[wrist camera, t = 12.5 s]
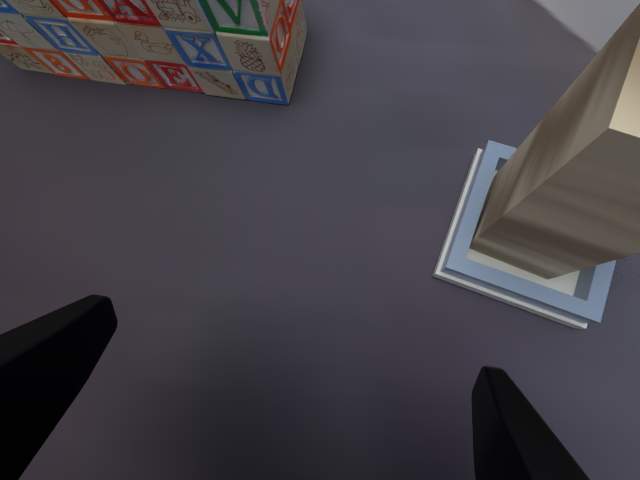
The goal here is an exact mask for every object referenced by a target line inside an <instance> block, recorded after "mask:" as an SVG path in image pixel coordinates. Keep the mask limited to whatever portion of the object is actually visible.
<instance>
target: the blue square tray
mask: <svg viewBox="0 0 640 480" xmlns="http://www.w3.org/2000/svg"><path fill="white" fill-rule="evenodd" d="M516 150H517V148H514V147H511V146H507V145H504V144H500V143H497V142H494V141H490V140H489V141H488V142H487V144H486V145H485V147H484V148H483V150H482V149H479V148H478V150H477V151H476V153H475V155H474V156H473V159H472V162H471V165H470V168H469V171H468V174H467V177H466V180H465V182H464V185H463V188H462V191H461V194H460V197H459V200H458V203H457V206H456V208H455V211H454V214H453V217H452V220H451V223H450V226H449V229H448V232H447V235H446V237H445V240H444V243H443V246H442V249H441V252H440V255H439V258H438V261H437V264H436V266H435V269H434V272H433V275H432V276H433V277H436V278H439V279H441V280H444V281H447V282H449V283H452V284H455V285H458V286H460V287H463V288H466V289H469V290H471V291H474V292H477V293H479V294H482V295H485V296H488V297H490V298H493V299H496V300H498V301H501V302H504V303H507V304H509V305H512V306H515V307H518V308H520V309H523V310H526V311H528V312H531V313H534V314H537V315H539V316H542V317H545V318H548V319H550V320H553V321H556V322H558V323H561V324H564V325H567V326H569V327H572V328H575V329H586V328H587V324H588V323H600V322H601V318H602V314H603V310H604V306H605V302H606V298H607V295H608V291H609V287H610V283H611V279H612V275H613V271H614V267H615V263H616V260H613V261H610V262H606V263H603V264H599V265H596V266H593V267H589V268H586V269H582V270H579V271H575V272H572V273H569V274H565V275H562V276H558V277H555V278H551V279H548V280H547V279H544V278H542V277H539V276H537V275H534V274H532V273H529V272H527V271H524V270H522V269H519V268H517V267H514V266H512V265H509V264H507V263H504V262H502V261H499V260H497V259H494V258H492V257H489V256H487V255H484V254H482V253H479V252H477V251H474V250H472V249H469V247H470V244H471V241H472V238H473V235H474V232H475V229H476V226H477V222H478V219H479V216H480V213H481V210H482V207H483V204H484V201H485V198H486V195H487V192H488V189H489V187H490V184H491V182H492V179H493V177H494V176H495V175H496V174H497V172H498V171H499V170H500V169H501V168H502V166H503V165H504V164H505V163H506V162H507V160H508V159H509V158H510V157H511V156H512V155H513V153H514V152H515V151H516Z"/></svg>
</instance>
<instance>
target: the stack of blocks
mask: <svg viewBox="0 0 640 480" xmlns="http://www.w3.org/2000/svg"><path fill="white" fill-rule="evenodd" d="M306 34H307V26H306V20H305V15H304V10H303V6H302V1H301V0H0V54H1V55H3V56H4V57H5V58H7V59H8V60H10V61H11V62H12V63H14V64H15V65H16V66H18V67H19V68H21V69H24V70H31V71H38V72H45V73H52V74H55V75H59V76H66V77H73V78H80V79H87V80H94V81H100V82H108V83H115V84H122V85H127V84H133V85H143V86H149V87H157V88H170V89H177V90H184V91H192V92H200V93H203V92H204V93H205V94H207V95H213V96H221V97H228V98H235V99H244V100H245V99H248V100H252V101H260V102H268V103H275V104H283V105H288V104H289V102H290V97H291V94H292V90H293V85H294V81H295V78H296V74H297V70H298V66H299V64H300V60H301V56H302V52H303V48H304V44H305V40H306Z"/></svg>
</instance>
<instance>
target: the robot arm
mask: <svg viewBox="0 0 640 480" xmlns="http://www.w3.org/2000/svg"><path fill="white" fill-rule="evenodd" d="M116 328H117V317H116V314H115V311H114V308H113V304H112V301H111V299H110V298H109V297H106V296H101V295H90V296H87V297H85V298H83V299H80V300H78V301H76V302H74V303H71V304H69V305H67V306H64V307H62V308H60V309H58V310H55V311H53V312H51V313H49V314H46V315H44V316H42V317H39V318H37V319H35V320H33V321H30V322H28V323H26V324H24V325H21V326H19V327H17V328H14V329H12V330H10V331H8V332H5V333H3V334H1V335H0V480H18V479H19V478H20V476H21V475H22V474H23V472H24V471H25V469H26V468H27V466H28V465H29V464H30V462H31V461H32V459H33V458H34V456H35V455H36V454H37V452H38V451H39V449H40V448H41V446H42V445H43V444H44V442H45V441H46V439H47V438H48V436H49V435H50V434H51V432H52V431H53V429H54V428H55V426H56V425H57V424H58V422H59V421H60V419H61V418H62V416H63V415H64V414H65V412H66V411H67V409H68V408H69V406H70V405H71V404H72V402H73V401H74V399H75V398H76V396H77V395H78V394H79V392H80V391H81V389H82V388H83V386H84V385H85V383H86V381H87V380H88V378H89V376H90V375H91V373H92V371H93V369H94V368H95V366H96V364H97V362H98V361H99V359H100V357H101V355H102V354H103V352H104V350H105V348H106V346H107V345H108V343H109V341H110V339H111V338H112V336H113V334H114V332H115V330H116ZM472 424H473V451H474V470H475V478H476V480H590V479H589V478H588V476H587V475H586V474H585V473H584V471H583V470H582V469H581V467H580V466H579V465H578V464H577V462H576V461H575V460H574V459H573V457H572V456H571V455H570V453H569V452H568V451H567V450H566V448H565V447H564V446H563V444H562V443H561V442H560V441H559V439H558V438H557V437H556V436H555V434H554V433H553V432H552V430H551V429H550V428H549V427H548V425H547V424H546V423H545V421H544V420H543V419H542V418H541V416H540V415H539V414H538V412H537V411H536V410H535V409H534V407H533V406H532V405H531V404H530V402H529V401H528V400H527V398H526V397H525V396H524V395H523V393H522V392H521V391H520V389H519V388H518V387H517V386H516V384H515V383H514V382H513V381H512V379H511V378H510V377H509V375H508V374H507V373H506V372H505V371H504V370H503V369H501V368H496V367H491V366H483V367H482V368H481V370H480V373H479V375H478V378H477V380H476V382H475V385H474V387H473V391H472Z"/></svg>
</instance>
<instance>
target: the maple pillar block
mask: <svg viewBox="0 0 640 480" xmlns="http://www.w3.org/2000/svg"><path fill="white" fill-rule="evenodd" d="M469 249H472V250H474V251H477V252H479V253H482V254H484V255H487V256H489V257H492V258H494V259H497V260H499V261H502V262H504V263H507V264H509V265H512V266H514V267H517V268H519V269H522V270H524V271H527V272H529V273H532V274H534V275H537V276H539V277H542V278H544V279H547V280H548V279H551V278H555V277H558V276H562V275H565V274H569V273H572V272H575V271H579V270H582V269H586V268H589V267H593V266H596V265H599V264H603V263H606V262H610V261H613V260H617V259H620V258H623V257H627V256H630V255H634V254H637V253H640V4H639V5H638V6H637V7H636V8H635V10H634V11H633V12H632V13H631V14H630V16H629V17H628V18H627V19H626V20H625V22H624V23H623V24H622V25H621V26H620V27H619V29H618V30H617V31H616V32H615V33H614V35H613V36H612V37H611V38H610V39H609V41H608V42H607V43H606V44H605V45H604V46H603V48H602V49H601V50H600V51H599V52H598V54H597V55H596V56H595V57H594V58H593V60H592V61H591V62H590V63H589V64H588V65H587V67H586V68H585V69H584V70H583V71H582V73H581V74H580V75H579V76H578V77H577V79H576V80H575V81H574V82H573V83H572V84H571V86H570V87H569V88H568V89H567V90H566V92H565V93H564V94H563V95H562V96H561V98H560V99H559V100H558V101H557V102H556V103H555V105H554V106H553V107H552V108H551V109H550V111H549V112H548V113H547V114H546V115H545V117H544V118H543V119H542V120H541V121H540V122H539V124H538V125H537V126H536V127H535V128H534V130H533V131H532V132H531V133H530V134H529V136H528V137H527V138H526V139H525V140H524V141H523V143H522V144H521V145H520V146H519V147H518V149H517V150H516V151H515V152H514V153H513V155H512V156H511V157H510V158H509V159H508V160H507V162H506V163H505V164H504V165H503V166H502V168H501V169H500V170H499V171H498V172H497V174H496V175H495V176H494V177H493V179H492V182H491V184H490V187H489V189H488V192H487V195H486V198H485V201H484V204H483V207H482V210H481V213H480V216H479V219H478V222H477V226H476V229H475V232H474V235H473V238H472V241H471V244H470V247H469Z"/></svg>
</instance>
